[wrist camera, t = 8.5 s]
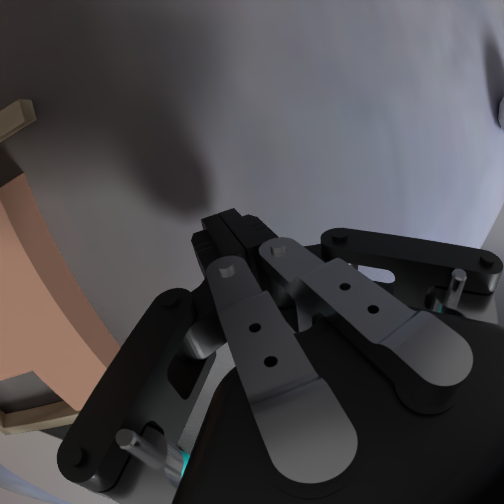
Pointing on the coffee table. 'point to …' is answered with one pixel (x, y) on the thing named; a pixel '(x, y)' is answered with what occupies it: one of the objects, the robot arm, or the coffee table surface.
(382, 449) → the robot arm
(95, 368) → the t piece
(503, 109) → the geometric ball
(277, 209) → the coffee table surface
